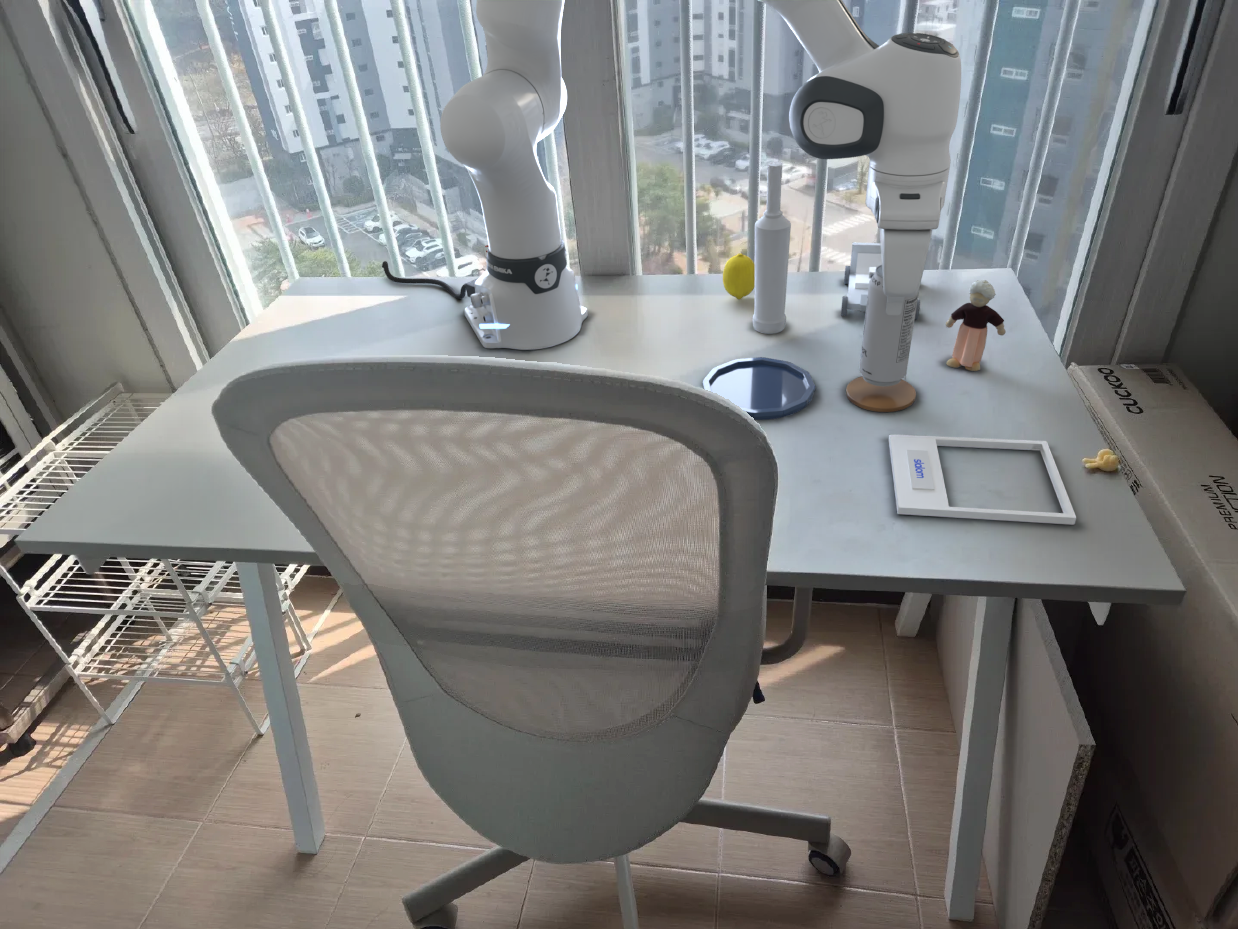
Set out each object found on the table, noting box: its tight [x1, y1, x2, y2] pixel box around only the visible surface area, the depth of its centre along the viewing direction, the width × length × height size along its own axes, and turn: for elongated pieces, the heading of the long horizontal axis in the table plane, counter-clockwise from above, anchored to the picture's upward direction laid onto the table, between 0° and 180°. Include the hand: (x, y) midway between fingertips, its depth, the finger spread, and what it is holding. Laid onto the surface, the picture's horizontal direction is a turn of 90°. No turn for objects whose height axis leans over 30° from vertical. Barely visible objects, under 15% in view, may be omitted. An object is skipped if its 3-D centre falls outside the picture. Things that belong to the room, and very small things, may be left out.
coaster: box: [845, 375, 917, 413], centre depth 115 cm, size 9×9×1 cm
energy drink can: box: [858, 265, 921, 386], centre depth 109 cm, size 6×6×15 cm
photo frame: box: [888, 434, 1077, 526], centre depth 98 cm, size 15×1×18 cm
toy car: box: [840, 241, 921, 320], centre depth 135 cm, size 18×10×12 cm
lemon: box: [722, 252, 755, 301], centre depth 140 cm, size 6×6×8 cm
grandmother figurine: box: [944, 279, 1007, 372], centre depth 116 cm, size 8×4×13 cm, turn 70°
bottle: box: [752, 161, 792, 335], centre depth 126 cm, size 5×5×25 cm
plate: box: [701, 356, 816, 421], centre depth 117 cm, size 15×15×1 cm
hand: (891, 300), depth 107 cm, fingers closed on energy drink can, 6 cm apart
